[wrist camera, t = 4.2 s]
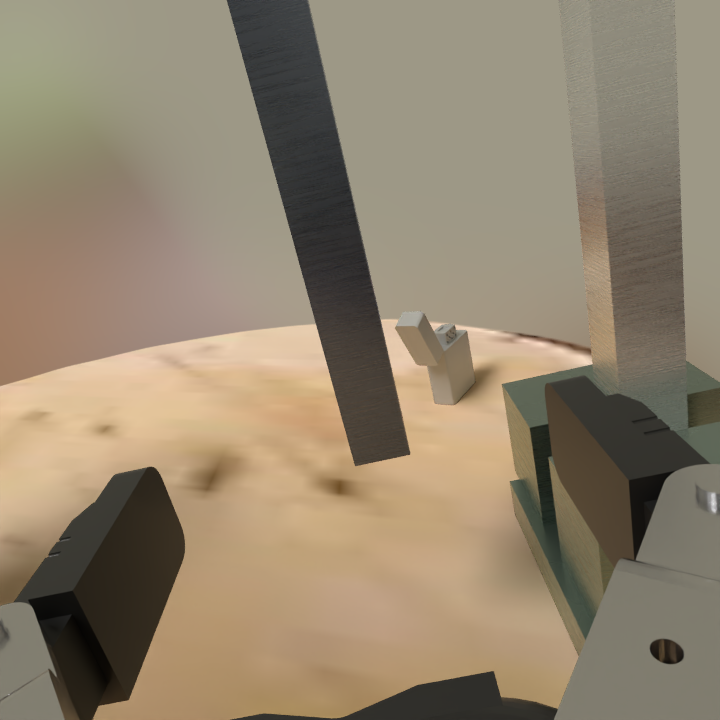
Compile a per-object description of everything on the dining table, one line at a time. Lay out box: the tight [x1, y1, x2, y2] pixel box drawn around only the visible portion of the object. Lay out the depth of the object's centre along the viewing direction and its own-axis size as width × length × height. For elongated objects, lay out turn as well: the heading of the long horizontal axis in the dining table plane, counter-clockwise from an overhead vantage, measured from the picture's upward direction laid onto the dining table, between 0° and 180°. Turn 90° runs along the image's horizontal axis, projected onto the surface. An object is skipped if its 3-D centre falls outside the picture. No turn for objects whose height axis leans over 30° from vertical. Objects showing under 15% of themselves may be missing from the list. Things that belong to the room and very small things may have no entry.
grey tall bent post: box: [502, 0, 720, 656], centre depth 23 cm, size 16×18×28 cm
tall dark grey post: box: [227, 0, 410, 466], centre depth 20 cm, size 6×2×20 cm, turn 1°
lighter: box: [395, 311, 476, 405], centre depth 43 cm, size 7×2×8 cm, turn 146°
